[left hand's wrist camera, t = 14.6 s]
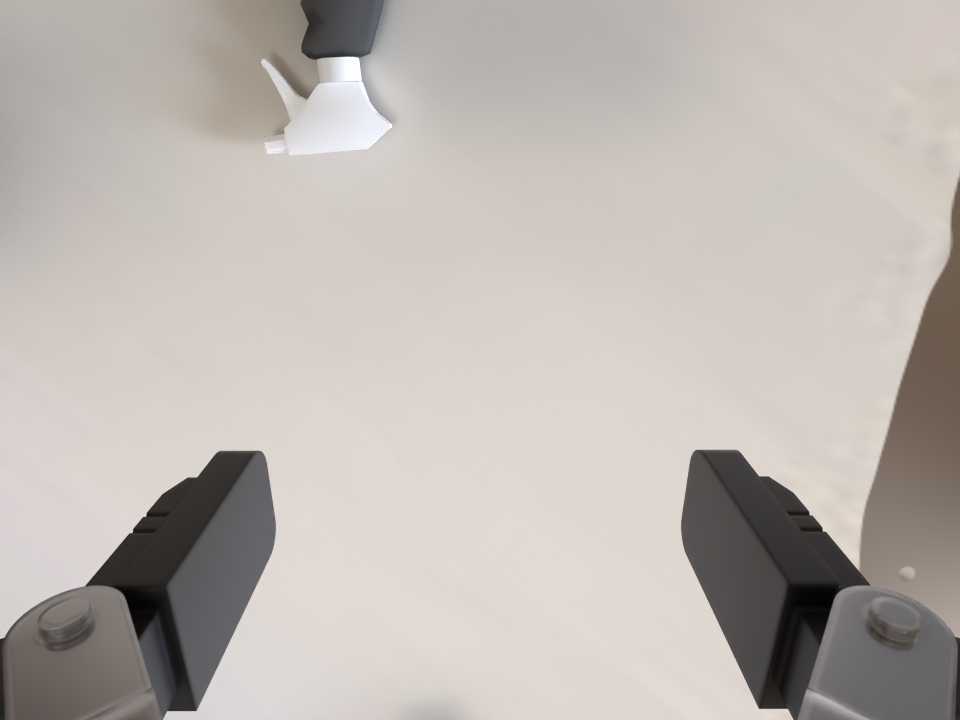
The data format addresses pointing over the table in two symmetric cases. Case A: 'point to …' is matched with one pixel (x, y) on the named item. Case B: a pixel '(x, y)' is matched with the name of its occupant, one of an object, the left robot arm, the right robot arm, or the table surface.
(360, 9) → the spray bottle
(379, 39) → the table surface
